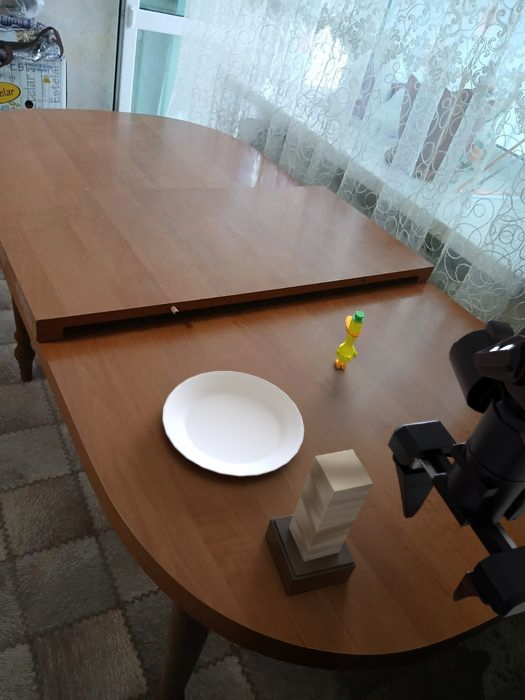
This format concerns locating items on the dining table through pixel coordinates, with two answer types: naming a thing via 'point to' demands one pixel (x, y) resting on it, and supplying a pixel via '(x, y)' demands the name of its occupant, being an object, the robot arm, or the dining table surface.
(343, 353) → the toy figure
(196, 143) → the dining table surface
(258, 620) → the dining table surface
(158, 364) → the dining table surface
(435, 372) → the dining table surface
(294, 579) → the stand
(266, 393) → the plate
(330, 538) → the block
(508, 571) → the robot arm
